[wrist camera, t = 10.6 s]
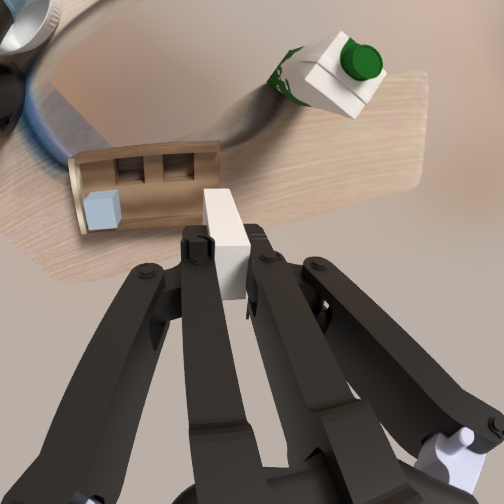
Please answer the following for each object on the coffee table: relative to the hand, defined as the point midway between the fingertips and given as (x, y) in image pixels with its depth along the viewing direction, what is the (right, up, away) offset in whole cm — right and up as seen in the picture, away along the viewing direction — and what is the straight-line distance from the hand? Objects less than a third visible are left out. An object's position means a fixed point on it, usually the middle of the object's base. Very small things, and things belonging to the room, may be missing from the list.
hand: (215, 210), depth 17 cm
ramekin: (-34, +36, +7) cm, 50 cm away
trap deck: (-15, +9, +28) cm, 33 cm away
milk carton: (+9, +26, +23) cm, 36 cm away
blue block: (-22, +5, +26) cm, 34 cm away
